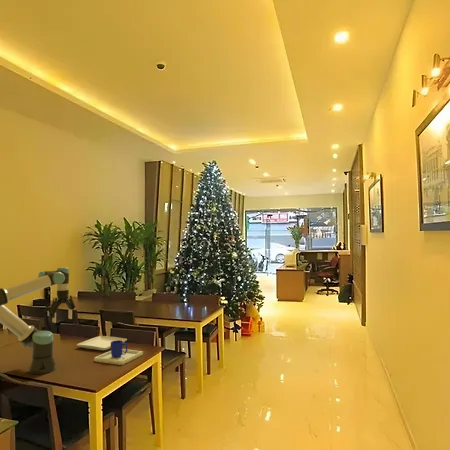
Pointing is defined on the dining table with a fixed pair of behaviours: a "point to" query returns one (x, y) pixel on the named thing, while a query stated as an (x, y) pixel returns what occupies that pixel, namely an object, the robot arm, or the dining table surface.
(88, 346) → the square plate
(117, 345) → the mug
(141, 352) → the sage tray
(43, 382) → the dining table surface
